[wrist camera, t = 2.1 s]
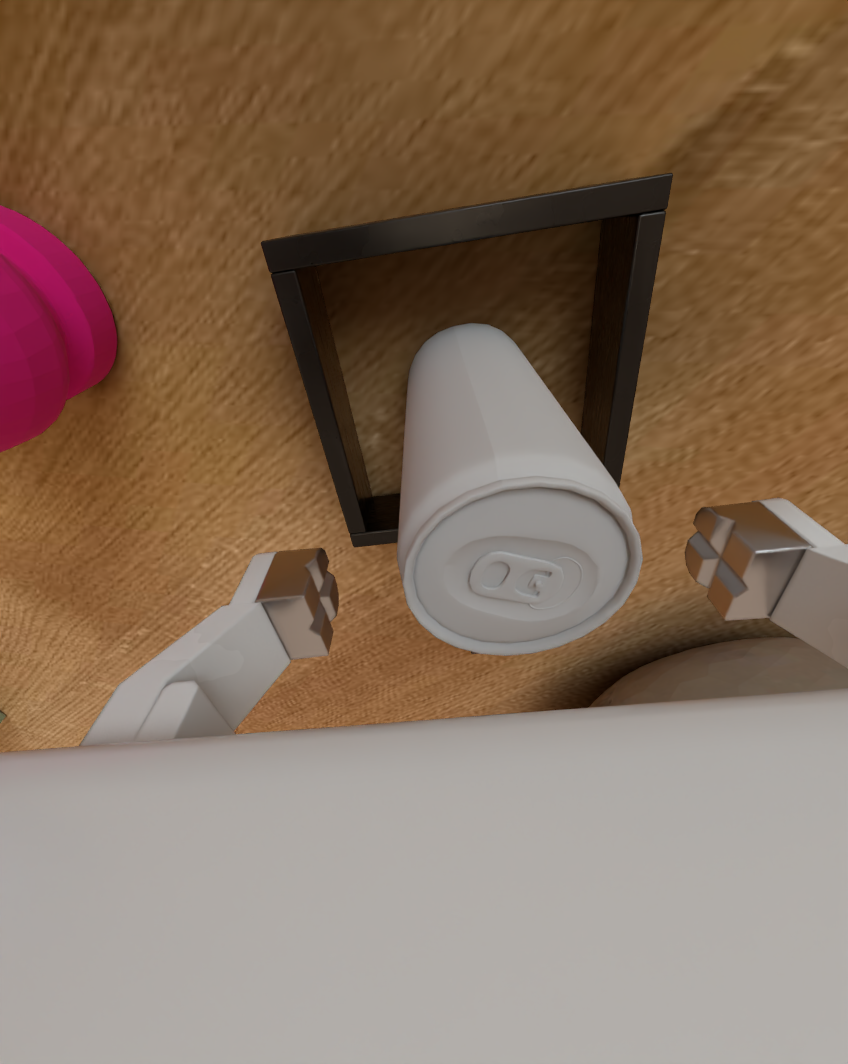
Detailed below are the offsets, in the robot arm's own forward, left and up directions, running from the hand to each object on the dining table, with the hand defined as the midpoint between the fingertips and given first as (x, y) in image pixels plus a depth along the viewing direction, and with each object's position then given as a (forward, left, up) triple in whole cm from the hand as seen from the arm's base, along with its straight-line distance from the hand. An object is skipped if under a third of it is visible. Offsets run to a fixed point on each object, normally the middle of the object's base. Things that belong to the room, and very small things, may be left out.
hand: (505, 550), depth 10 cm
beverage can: (0, 0, -11) cm, 11 cm away
